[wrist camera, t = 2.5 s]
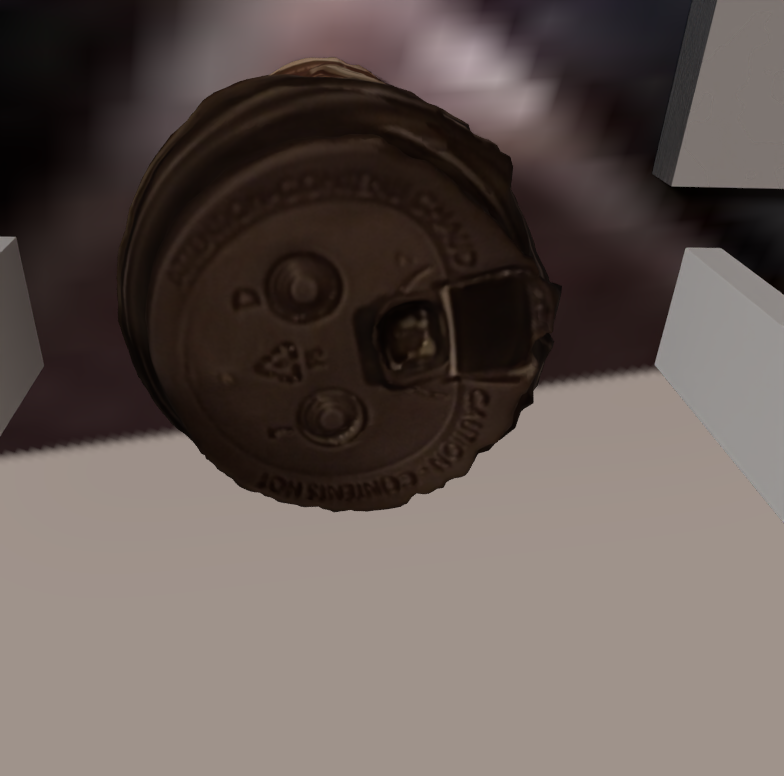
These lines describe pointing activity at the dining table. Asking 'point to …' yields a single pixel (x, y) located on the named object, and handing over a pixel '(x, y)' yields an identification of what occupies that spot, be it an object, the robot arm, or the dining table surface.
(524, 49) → the dining table surface
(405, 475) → the coffee cup
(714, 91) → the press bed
